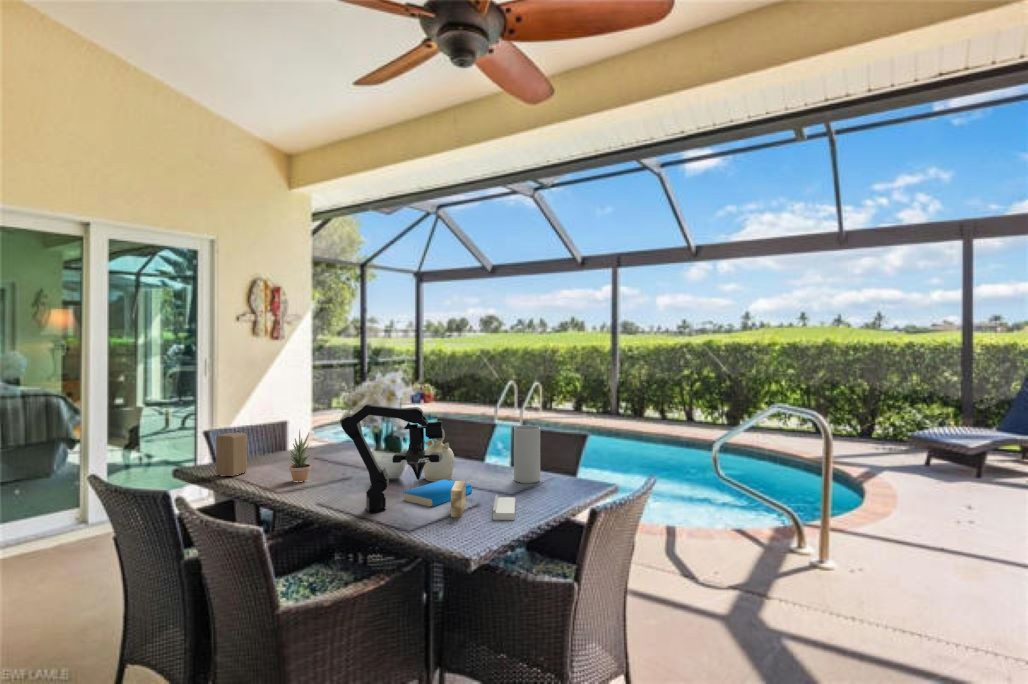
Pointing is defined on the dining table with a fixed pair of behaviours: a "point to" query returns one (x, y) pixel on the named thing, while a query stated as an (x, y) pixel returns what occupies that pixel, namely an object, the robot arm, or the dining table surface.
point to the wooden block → (231, 454)
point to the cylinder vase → (527, 454)
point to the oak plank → (458, 498)
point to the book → (432, 493)
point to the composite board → (504, 508)
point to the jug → (442, 468)
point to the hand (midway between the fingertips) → (418, 479)
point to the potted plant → (299, 462)
